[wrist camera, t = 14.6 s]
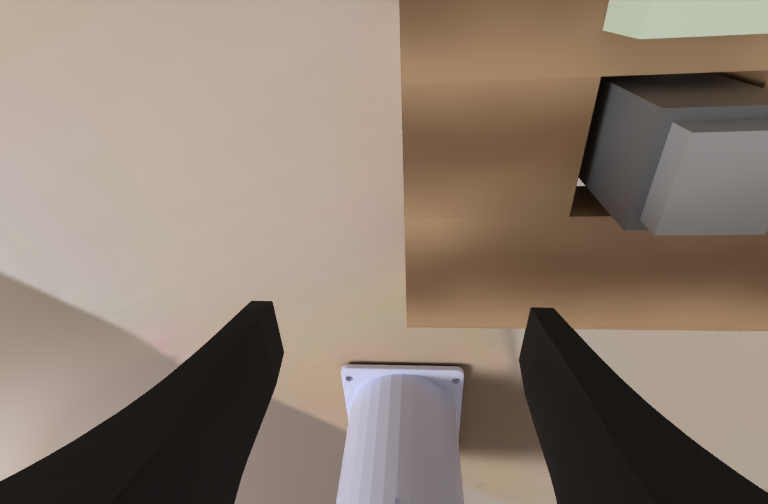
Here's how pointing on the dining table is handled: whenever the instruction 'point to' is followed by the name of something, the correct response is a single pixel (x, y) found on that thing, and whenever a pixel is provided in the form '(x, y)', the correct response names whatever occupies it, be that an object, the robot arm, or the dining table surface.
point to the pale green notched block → (686, 18)
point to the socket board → (549, 175)
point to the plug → (680, 154)
